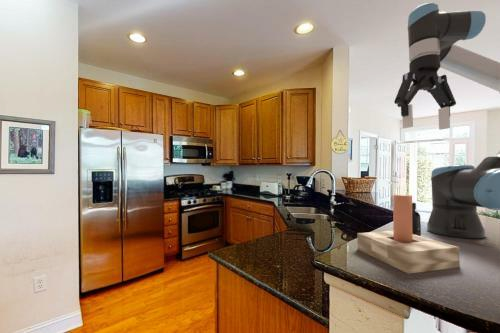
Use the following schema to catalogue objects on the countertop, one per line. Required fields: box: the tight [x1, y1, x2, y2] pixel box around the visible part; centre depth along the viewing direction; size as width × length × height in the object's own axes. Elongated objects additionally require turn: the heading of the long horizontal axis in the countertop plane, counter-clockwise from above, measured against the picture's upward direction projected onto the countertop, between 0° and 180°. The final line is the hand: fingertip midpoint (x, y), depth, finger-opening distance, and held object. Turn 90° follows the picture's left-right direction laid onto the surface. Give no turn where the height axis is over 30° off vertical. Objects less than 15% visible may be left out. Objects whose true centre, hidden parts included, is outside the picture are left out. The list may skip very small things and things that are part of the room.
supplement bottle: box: [412, 202, 422, 236], centre depth 72 cm, size 7×7×12 cm
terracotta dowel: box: [392, 194, 413, 243], centre depth 58 cm, size 4×4×14 cm
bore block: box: [356, 230, 461, 275], centre depth 58 cm, size 14×16×4 cm
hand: (426, 128), depth 69 cm, fingers open, 13 cm apart
